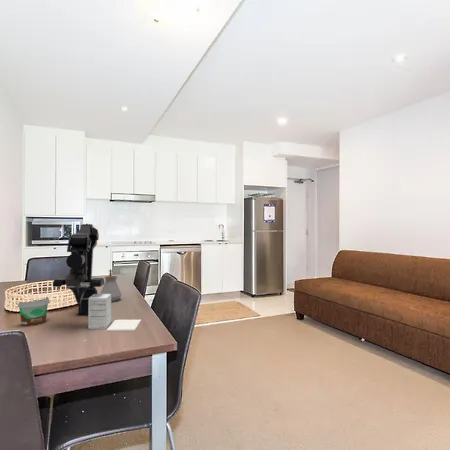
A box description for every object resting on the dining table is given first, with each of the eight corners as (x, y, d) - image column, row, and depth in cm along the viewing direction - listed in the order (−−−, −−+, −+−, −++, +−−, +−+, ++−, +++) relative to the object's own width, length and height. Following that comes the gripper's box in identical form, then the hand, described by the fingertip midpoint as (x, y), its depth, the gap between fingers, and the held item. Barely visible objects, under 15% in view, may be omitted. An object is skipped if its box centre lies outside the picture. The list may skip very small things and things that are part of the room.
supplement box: (93, 323, 136) (93, 293, 136) (111, 323, 137) (111, 293, 137) (87, 329, 129) (87, 297, 129) (106, 328, 130) (106, 297, 130)
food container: (25, 329, 128) (25, 304, 128) (17, 326, 132) (17, 301, 131) (55, 321, 139) (55, 298, 139) (47, 318, 142) (47, 296, 142)
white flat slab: (106, 331, 127) (106, 329, 127) (115, 321, 140) (115, 319, 140) (134, 330, 128) (134, 329, 128) (141, 320, 141) (141, 319, 141)
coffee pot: (121, 302, 173) (122, 274, 173) (98, 303, 169) (99, 275, 169) (120, 293, 193) (120, 268, 193) (100, 295, 189) (100, 269, 189)
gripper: (46, 267, 124) (45, 308, 124) (96, 268, 125) (95, 308, 125) (59, 264, 135) (58, 301, 135) (104, 264, 136) (104, 301, 136)
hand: (78, 303), depth 132 cm, fingers closed
